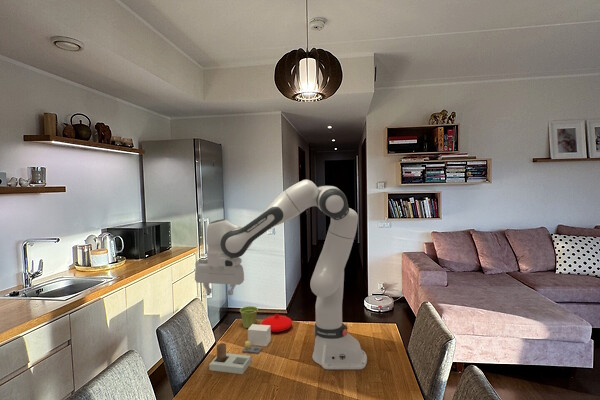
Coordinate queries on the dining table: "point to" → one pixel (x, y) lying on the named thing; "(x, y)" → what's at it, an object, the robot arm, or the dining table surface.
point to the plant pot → (248, 315)
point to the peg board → (231, 364)
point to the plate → (251, 348)
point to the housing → (259, 334)
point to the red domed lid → (277, 323)
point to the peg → (221, 352)
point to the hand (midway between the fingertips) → (219, 294)
